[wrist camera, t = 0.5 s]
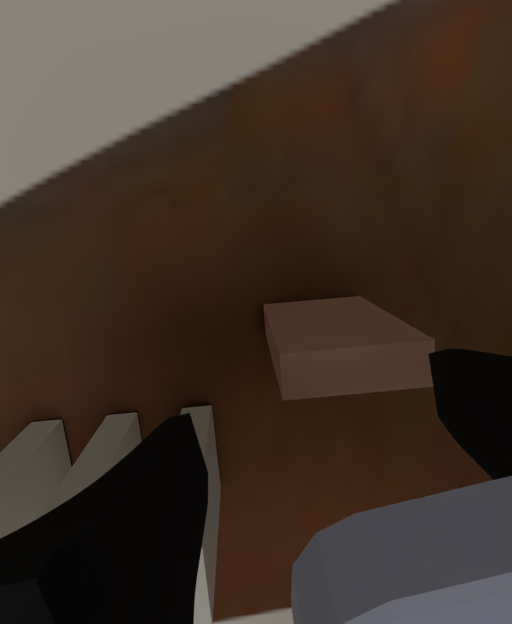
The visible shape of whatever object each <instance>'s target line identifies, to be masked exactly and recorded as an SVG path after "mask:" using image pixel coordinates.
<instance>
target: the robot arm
mask: <svg viewBox="0 0 512 624" xmlns="http://www.w3.org/2000/svg"><path fill="white" fill-rule="evenodd" d="M428 355H429V362H430V368H431V374H432V381H433V387H434V393H435V400H436V406H437V412H438V417H439V418H440V420H441V421H442V423H443V424H444V425H445V427H446V428H447V430H448V431H449V432H450V434H451V435H452V436H453V438H454V439H455V440H456V441H457V443H458V444H459V445H460V446H461V447H462V448H463V449H464V450H465V451H466V452H467V453H468V454H469V455H470V456H471V457H472V458H473V459H474V460H475V461H476V462H477V463H478V464H479V465H480V466H481V467H482V468H483V469H484V470H485V471H486V472H487V473H488V474H489V475H490V476H491V477H492V478H493V479H494V480H492V481H488V482H484V483H480V484H476V485H472V486H467V487H463V488H459V489H455V490H451V491H447V492H443V493H438V494H434V495H430V496H426V497H422V498H418V499H414V500H409V501H405V502H401V503H397V504H393V505H389V506H384V507H380V508H376V509H372V510H368V511H364V512H360V513H355V514H353V515H351V516H349V517H347V518H345V519H343V520H341V521H339V522H337V523H335V524H333V525H331V526H329V527H327V528H325V529H323V530H321V531H319V532H317V533H316V534H315V535H314V537H313V538H312V539H311V541H310V542H309V544H308V545H307V546H306V548H305V549H304V550H303V552H302V553H301V555H300V556H299V557H298V559H297V560H296V561H295V563H294V564H293V567H292V588H291V606H292V613H293V620H294V624H512V357H511V356H504V355H498V354H492V353H485V352H479V351H472V350H464V349H446V350H442V351H438V352H434V353H430V354H428ZM207 507H208V470H207V467H206V464H205V460H204V457H203V454H202V451H201V447H200V444H199V441H198V438H197V435H196V431H195V428H194V425H193V422H192V418H191V415H190V413H186V414H182V415H178V416H174V417H170V418H168V419H167V420H165V421H164V422H163V423H162V424H160V425H159V426H158V427H157V428H156V429H155V430H154V431H153V432H152V433H151V434H149V435H148V436H147V437H146V438H145V439H144V440H143V441H142V442H141V443H140V444H139V445H138V446H136V447H135V448H134V449H133V450H132V451H131V452H130V453H129V454H128V455H126V456H125V457H124V458H123V459H122V460H120V461H119V462H118V463H117V464H116V465H115V466H113V467H112V468H111V469H110V470H109V471H108V472H106V473H105V474H104V475H103V476H101V477H100V478H99V479H97V480H96V481H95V482H93V483H92V484H91V485H89V486H88V487H86V488H85V489H84V490H82V491H81V492H79V493H78V494H76V495H75V496H73V497H72V498H70V499H69V500H67V501H66V502H64V503H62V504H61V505H59V506H57V507H56V508H54V509H53V510H51V511H49V512H48V513H46V514H44V515H43V516H41V517H39V518H38V519H36V520H34V521H33V522H31V523H29V524H27V525H25V526H23V527H21V528H20V529H18V530H16V531H14V532H12V533H10V534H8V535H6V536H4V537H2V538H0V624H194V603H195V591H196V581H197V574H198V567H199V561H200V554H201V548H202V541H203V535H204V528H205V521H206V514H207Z"/></svg>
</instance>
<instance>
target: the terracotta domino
mask: <svg viewBox="0 0 512 624" xmlns="http://www.w3.org/2000/svg"><path fill="white" fill-rule="evenodd" d="M263 306H264V319H265V333H266V338H267V342H268V345H269V349H270V353H271V357H272V361H273V365H274V369H275V373H276V376H277V380H278V384H279V388H280V392H281V396H282V400H283V401H285V400H296V399H306V398H317V397H328V396H339V395H349V394H360V393H371V392H381V391H392V390H403V389H414V388H424V387H433V381H432V374H431V368H430V362H429V355H428V354H430V353H434V352H435V340H434V339H432V338H431V337H429V336H427V335H426V334H424V333H422V332H420V331H419V330H417V329H415V328H414V327H412V326H410V325H408V324H407V323H405V322H403V321H402V320H400V319H398V318H396V317H395V316H393V315H391V314H390V313H388V312H386V311H385V310H383V309H381V308H379V307H378V306H376V305H374V304H373V303H371V302H369V301H367V300H366V299H364V298H362V297H361V296H354V297H342V298H330V299H319V300H307V301H296V302H284V303H272V304H263Z"/></svg>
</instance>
